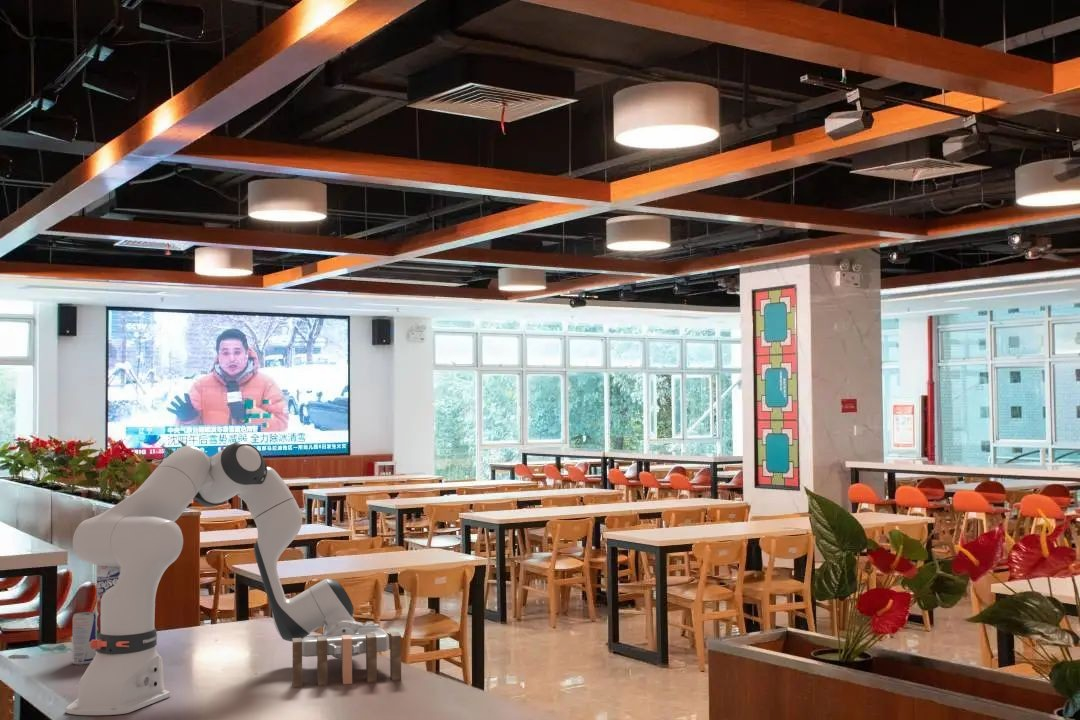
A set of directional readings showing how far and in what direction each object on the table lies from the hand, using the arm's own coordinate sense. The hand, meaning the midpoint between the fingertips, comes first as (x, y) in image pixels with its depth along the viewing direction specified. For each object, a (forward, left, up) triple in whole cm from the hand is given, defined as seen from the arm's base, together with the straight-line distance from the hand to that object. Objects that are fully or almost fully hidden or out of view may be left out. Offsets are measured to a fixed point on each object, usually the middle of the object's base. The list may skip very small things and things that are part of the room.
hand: (347, 650), depth 255 cm
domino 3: (0, 0, -7) cm, 7 cm away
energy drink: (+17, +72, -7) cm, 74 cm away
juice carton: (+29, +69, -7) cm, 75 cm away
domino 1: (-4, +10, -7) cm, 13 cm away
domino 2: (-2, +5, -7) cm, 9 cm away
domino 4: (+2, -5, -7) cm, 9 cm away
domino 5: (+4, -10, -7) cm, 13 cm away
